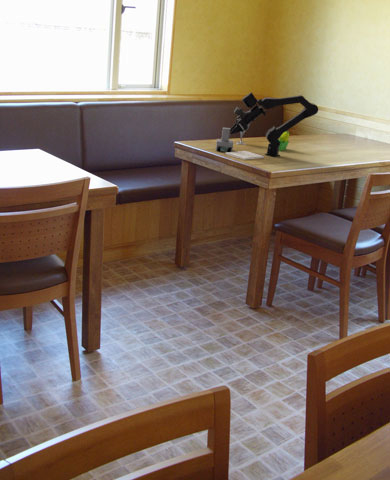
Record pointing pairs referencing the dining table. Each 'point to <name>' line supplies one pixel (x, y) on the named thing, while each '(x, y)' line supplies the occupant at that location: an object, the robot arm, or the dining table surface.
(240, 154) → the board
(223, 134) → the cover
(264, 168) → the dining table surface
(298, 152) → the dining table surface
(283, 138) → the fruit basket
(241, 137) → the wine glass
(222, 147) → the block
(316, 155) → the dining table surface
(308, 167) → the dining table surface
